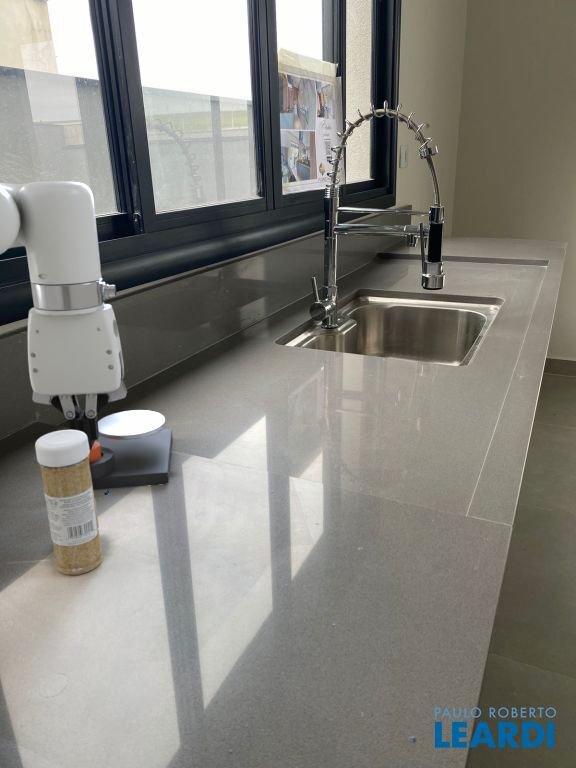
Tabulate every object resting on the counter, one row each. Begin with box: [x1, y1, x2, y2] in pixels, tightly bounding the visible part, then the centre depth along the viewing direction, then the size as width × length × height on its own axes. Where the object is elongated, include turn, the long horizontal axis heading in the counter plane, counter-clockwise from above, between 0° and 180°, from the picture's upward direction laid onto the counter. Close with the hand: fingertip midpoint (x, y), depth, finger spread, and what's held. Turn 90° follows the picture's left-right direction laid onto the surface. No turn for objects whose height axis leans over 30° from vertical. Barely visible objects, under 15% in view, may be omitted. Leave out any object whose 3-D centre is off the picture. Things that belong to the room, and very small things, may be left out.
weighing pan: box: [98, 409, 166, 440], centre depth 81 cm, size 9×9×2 cm
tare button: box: [89, 442, 101, 462], centre depth 74 cm, size 3×3×2 cm
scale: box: [89, 428, 174, 491], centre depth 80 cm, size 12×14×4 cm
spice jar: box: [34, 429, 104, 576], centre depth 57 cm, size 5×5×13 cm
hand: (86, 444), depth 74 cm, fingers closed
